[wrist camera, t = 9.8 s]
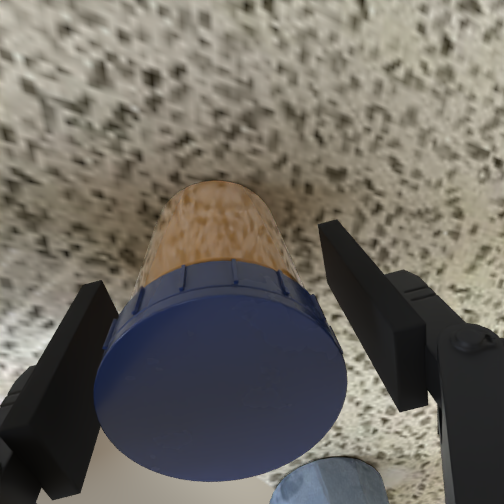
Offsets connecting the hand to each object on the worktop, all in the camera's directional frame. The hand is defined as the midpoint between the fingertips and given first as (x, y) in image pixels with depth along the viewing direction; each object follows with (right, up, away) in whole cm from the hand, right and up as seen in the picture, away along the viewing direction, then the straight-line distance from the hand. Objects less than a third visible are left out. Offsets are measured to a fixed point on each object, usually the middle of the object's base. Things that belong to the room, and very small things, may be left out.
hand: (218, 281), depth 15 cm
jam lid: (+1, -2, -5) cm, 6 cm away
